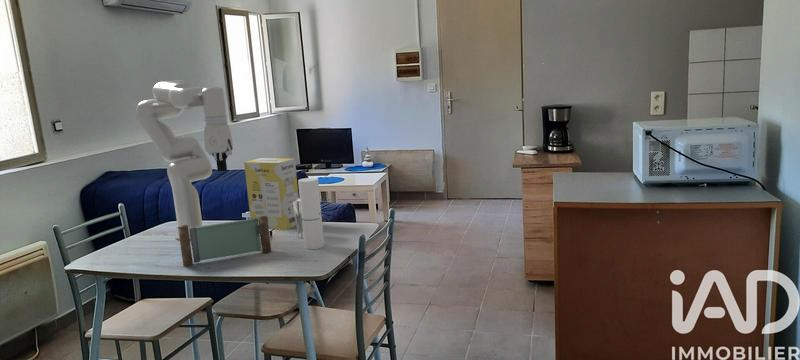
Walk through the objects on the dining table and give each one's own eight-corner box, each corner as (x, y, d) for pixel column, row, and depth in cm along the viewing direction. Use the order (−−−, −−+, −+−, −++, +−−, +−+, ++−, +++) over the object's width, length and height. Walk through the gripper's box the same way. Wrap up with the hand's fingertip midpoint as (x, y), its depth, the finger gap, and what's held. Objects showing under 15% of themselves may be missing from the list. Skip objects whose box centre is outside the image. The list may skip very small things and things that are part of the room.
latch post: (259, 255, 205) (255, 220, 203) (257, 251, 209) (253, 217, 207) (272, 253, 207) (268, 218, 204) (270, 249, 211) (266, 215, 208)
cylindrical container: (327, 243, 214) (321, 177, 209) (318, 249, 207) (312, 181, 203) (310, 242, 216) (304, 177, 212) (301, 248, 210) (294, 181, 205)
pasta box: (301, 223, 246) (294, 158, 241) (285, 229, 237) (278, 162, 231) (267, 220, 254) (260, 157, 249) (251, 226, 245) (244, 162, 240)
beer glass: (310, 239, 221) (306, 201, 218) (293, 239, 223) (289, 201, 220) (316, 233, 228) (313, 197, 225) (300, 233, 229) (296, 197, 226)
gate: (194, 263, 199) (189, 228, 197) (193, 261, 201) (189, 227, 199) (261, 251, 207) (257, 218, 205) (260, 250, 209) (256, 217, 206)
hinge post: (183, 267, 198) (177, 227, 195) (183, 264, 200) (177, 225, 198) (193, 265, 199) (187, 226, 196) (192, 262, 202) (187, 224, 199)
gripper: (193, 122, 211) (200, 172, 214) (223, 122, 204) (230, 173, 207) (209, 120, 217) (215, 168, 221) (238, 119, 210) (244, 169, 213)
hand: (222, 170), depth 214 cm, fingers closed
